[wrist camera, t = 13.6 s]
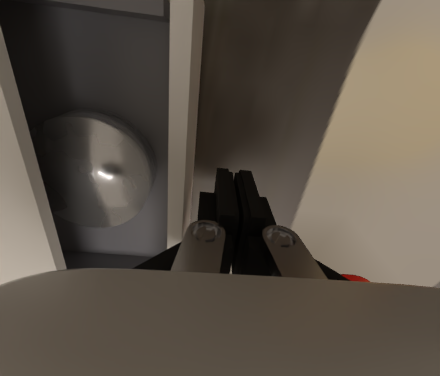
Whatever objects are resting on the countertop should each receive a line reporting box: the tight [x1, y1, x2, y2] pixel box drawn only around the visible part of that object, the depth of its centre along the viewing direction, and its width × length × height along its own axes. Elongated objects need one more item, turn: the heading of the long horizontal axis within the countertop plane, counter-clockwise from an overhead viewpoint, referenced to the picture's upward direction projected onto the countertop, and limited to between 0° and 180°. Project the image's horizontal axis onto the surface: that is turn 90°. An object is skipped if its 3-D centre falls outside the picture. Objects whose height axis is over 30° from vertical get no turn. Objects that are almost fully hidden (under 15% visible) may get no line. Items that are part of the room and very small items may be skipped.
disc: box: [30, 108, 157, 228], centre depth 13 cm, size 6×6×2 cm
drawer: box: [0, 0, 205, 269], centre depth 12 cm, size 17×16×6 cm
